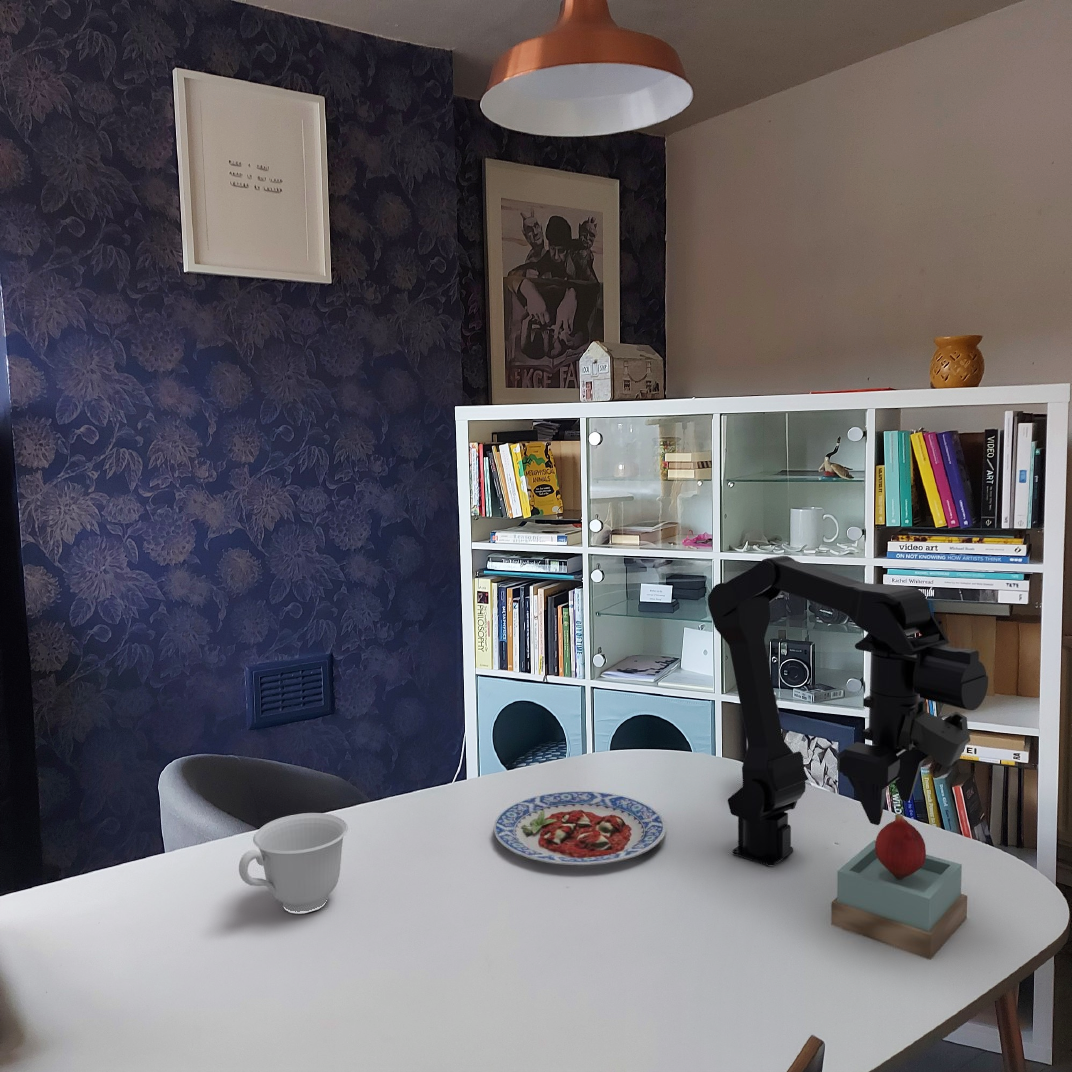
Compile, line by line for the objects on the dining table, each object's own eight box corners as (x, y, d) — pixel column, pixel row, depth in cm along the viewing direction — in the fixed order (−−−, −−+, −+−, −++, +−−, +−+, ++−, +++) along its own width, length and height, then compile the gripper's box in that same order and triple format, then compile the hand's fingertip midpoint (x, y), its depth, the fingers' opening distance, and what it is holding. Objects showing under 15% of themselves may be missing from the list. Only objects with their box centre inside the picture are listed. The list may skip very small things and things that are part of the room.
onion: (924, 871, 119) (926, 809, 119) (925, 891, 114) (927, 826, 113) (874, 864, 121) (876, 803, 121) (873, 884, 116) (875, 820, 115)
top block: (837, 901, 117) (837, 870, 117) (873, 869, 125) (873, 840, 125) (928, 931, 110) (929, 898, 110) (960, 895, 118) (961, 864, 118)
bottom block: (831, 928, 118) (831, 902, 117) (872, 892, 126) (872, 867, 126) (930, 964, 110) (930, 935, 109) (966, 922, 118) (967, 895, 118)
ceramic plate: (693, 823, 148) (693, 805, 148) (616, 895, 127) (616, 873, 126) (551, 792, 162) (550, 775, 162) (459, 852, 140) (459, 833, 140)
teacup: (219, 915, 124) (214, 841, 122) (317, 873, 134) (313, 805, 133) (270, 948, 115) (265, 869, 114) (370, 901, 126) (366, 828, 125)
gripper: (932, 723, 105) (927, 857, 107) (989, 685, 119) (983, 805, 121) (836, 703, 113) (833, 829, 115) (900, 670, 126) (896, 783, 128)
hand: (890, 812), depth 119 cm, fingers open, 9 cm apart
